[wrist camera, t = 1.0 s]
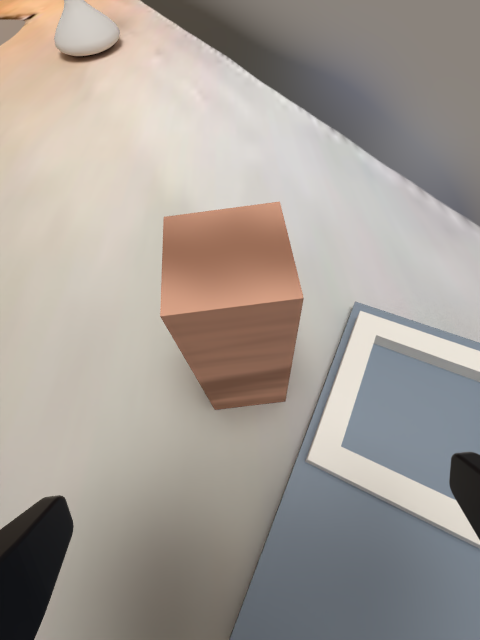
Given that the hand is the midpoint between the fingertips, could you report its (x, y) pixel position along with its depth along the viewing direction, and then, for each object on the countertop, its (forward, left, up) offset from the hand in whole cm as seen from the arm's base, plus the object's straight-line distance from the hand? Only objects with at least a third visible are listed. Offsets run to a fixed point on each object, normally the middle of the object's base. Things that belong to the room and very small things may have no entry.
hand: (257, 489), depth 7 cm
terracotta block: (+7, +4, -14) cm, 16 cm away
